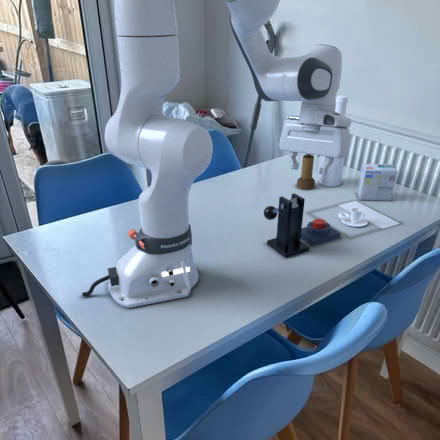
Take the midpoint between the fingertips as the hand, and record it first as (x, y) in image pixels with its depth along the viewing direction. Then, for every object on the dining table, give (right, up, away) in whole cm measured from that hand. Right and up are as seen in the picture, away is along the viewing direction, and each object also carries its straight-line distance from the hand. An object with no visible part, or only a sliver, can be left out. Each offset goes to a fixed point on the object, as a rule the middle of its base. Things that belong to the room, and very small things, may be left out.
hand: (308, 171), depth 116 cm
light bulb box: (+29, 0, +31) cm, 43 cm away
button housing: (+4, -17, +8) cm, 19 cm away
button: (+4, -14, +6) cm, 16 cm away
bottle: (+17, +8, +43) cm, 47 cm away
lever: (-7, -12, +1) cm, 14 cm away
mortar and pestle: (+7, +6, +40) cm, 41 cm away
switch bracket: (-5, -20, +3) cm, 21 cm away
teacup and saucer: (+18, -10, +18) cm, 27 cm away
